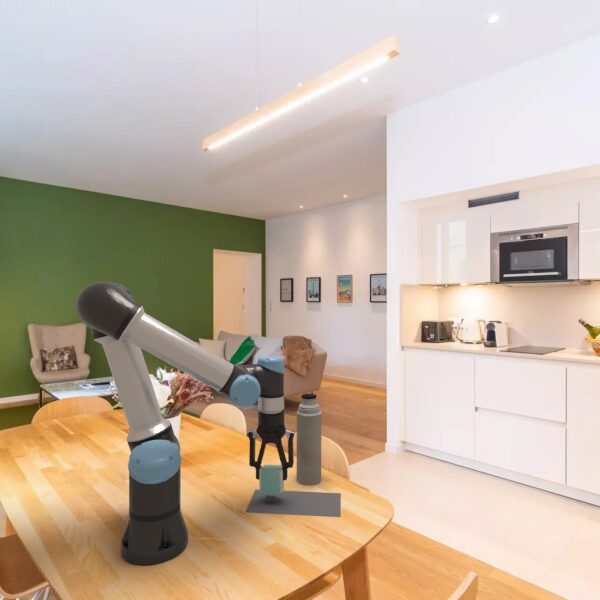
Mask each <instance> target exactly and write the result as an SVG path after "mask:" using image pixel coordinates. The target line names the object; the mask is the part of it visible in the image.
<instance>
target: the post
mask: <svg viewBox="0 0 600 600" xmlns="http://www.w3.org/2000/svg"><path fill="white" fill-rule="evenodd" d="M275 502H276V496H274V495H266V503H274V504H275Z"/></svg>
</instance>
